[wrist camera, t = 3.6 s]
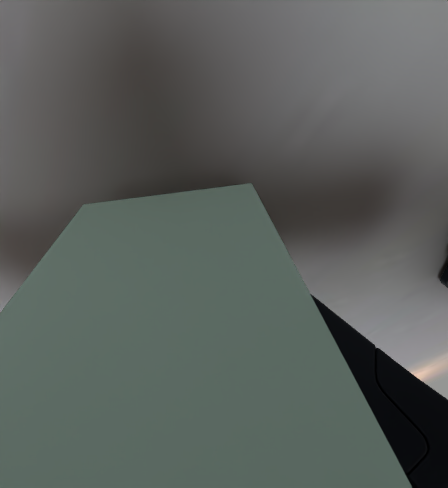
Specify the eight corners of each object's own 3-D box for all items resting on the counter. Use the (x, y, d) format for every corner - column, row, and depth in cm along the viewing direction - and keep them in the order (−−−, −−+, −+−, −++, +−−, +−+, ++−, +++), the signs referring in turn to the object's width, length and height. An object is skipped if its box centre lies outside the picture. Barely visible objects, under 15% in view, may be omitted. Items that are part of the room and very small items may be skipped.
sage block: (251, 183, 8) (426, 514, 2) (254, 298, 11) (331, 570, 5) (83, 204, 8) (-248, 636, 2) (132, 315, 10) (63, 620, 5)
